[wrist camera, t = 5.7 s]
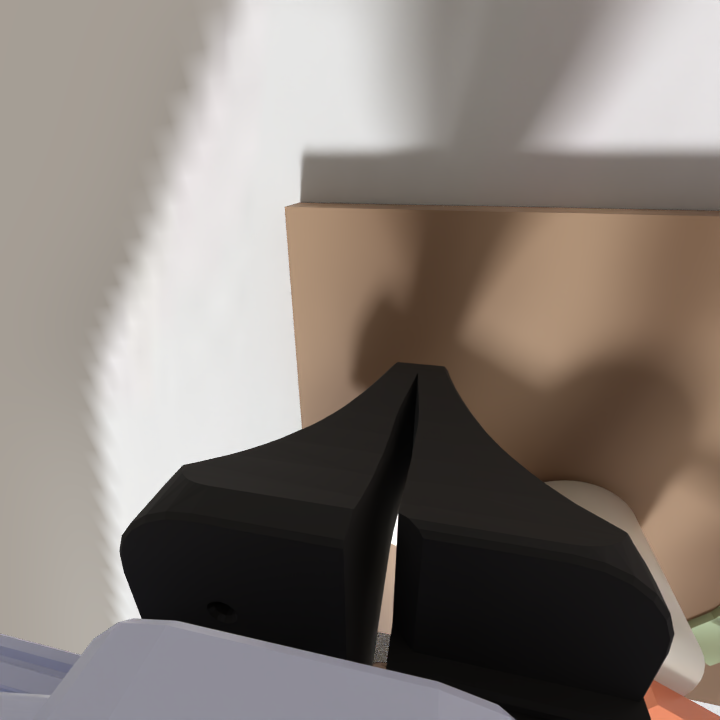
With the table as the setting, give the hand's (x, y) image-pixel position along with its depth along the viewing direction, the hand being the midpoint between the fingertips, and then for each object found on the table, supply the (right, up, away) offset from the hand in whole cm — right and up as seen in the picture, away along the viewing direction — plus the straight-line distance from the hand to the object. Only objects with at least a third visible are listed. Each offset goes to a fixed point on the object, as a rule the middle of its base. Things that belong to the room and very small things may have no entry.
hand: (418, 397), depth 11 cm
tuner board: (+5, -3, +4) cm, 7 cm away
